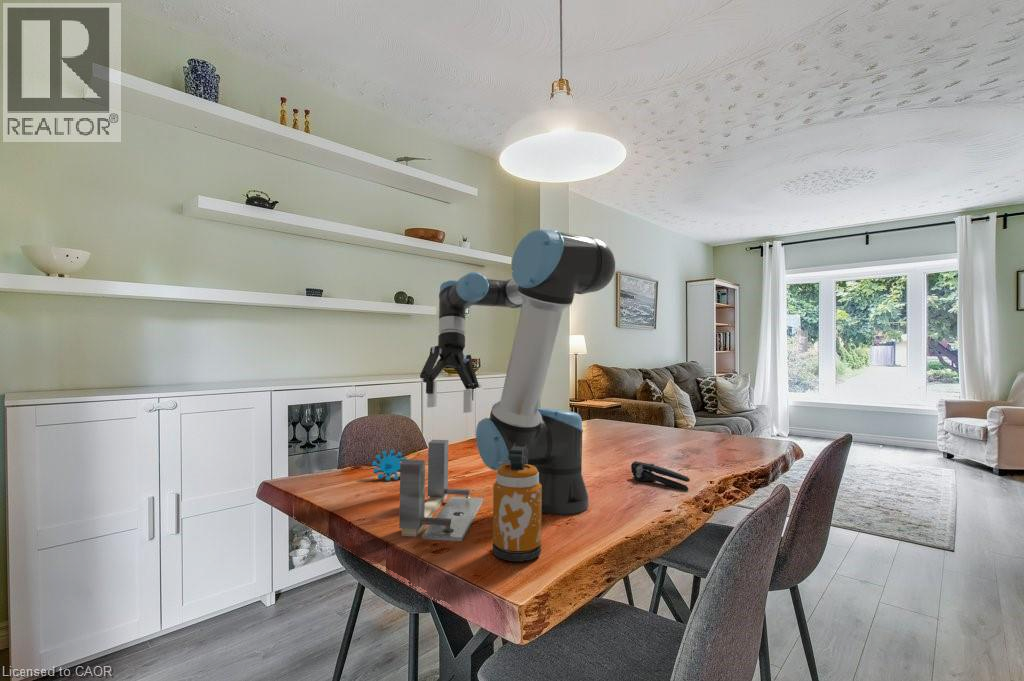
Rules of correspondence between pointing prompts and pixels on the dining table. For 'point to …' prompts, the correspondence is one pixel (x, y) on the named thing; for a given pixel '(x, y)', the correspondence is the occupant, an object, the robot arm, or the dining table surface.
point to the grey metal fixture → (417, 500)
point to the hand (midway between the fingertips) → (450, 409)
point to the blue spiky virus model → (388, 465)
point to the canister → (517, 508)
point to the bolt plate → (454, 519)
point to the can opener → (644, 475)
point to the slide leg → (440, 470)
